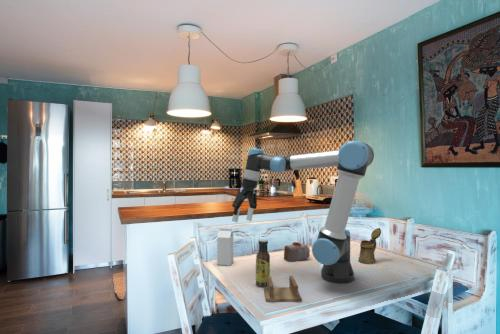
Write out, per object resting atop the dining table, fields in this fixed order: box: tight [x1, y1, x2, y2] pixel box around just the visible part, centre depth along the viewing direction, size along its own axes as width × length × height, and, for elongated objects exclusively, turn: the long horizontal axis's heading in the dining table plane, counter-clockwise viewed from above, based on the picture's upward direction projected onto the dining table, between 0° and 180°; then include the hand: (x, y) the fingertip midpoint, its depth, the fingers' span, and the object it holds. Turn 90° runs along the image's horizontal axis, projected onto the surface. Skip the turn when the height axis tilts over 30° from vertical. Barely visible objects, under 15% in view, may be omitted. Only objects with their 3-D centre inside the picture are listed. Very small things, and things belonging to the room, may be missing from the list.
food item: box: [283, 241, 311, 263], centre depth 181 cm, size 14×8×10 cm, turn 114°
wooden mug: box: [357, 227, 382, 265], centre depth 178 cm, size 9×14×18 cm, turn 111°
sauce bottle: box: [255, 239, 271, 288], centre depth 143 cm, size 6×6×20 cm
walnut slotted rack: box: [263, 275, 303, 303], centre depth 131 cm, size 14×12×6 cm
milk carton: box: [216, 228, 234, 267], centre depth 174 cm, size 7×7×19 cm
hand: (241, 221), depth 159 cm, fingers open, 13 cm apart
